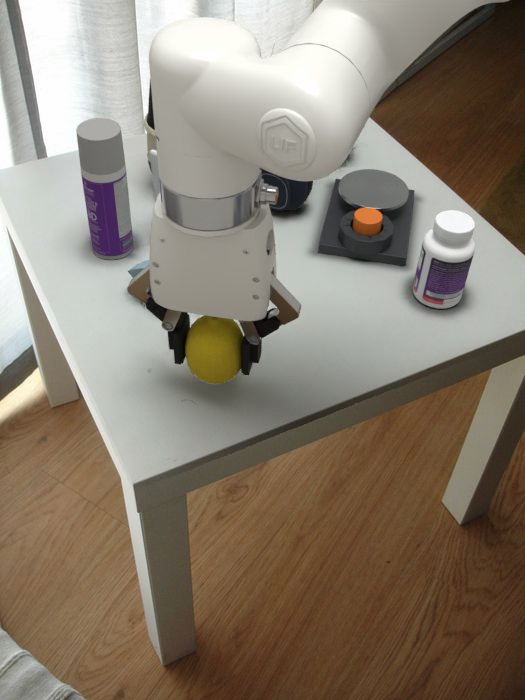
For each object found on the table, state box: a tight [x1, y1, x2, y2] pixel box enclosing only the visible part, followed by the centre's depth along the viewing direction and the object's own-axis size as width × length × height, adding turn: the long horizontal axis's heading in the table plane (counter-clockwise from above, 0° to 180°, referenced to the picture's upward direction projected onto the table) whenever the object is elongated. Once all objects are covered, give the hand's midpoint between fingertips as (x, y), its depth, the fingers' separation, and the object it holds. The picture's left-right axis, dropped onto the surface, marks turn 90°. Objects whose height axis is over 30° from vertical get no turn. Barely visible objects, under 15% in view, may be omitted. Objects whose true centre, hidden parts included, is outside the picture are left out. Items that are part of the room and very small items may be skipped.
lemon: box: [185, 315, 244, 385], centre depth 72 cm, size 6×6×8 cm
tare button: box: [353, 207, 383, 236], centre depth 89 cm, size 3×3×2 cm
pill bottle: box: [412, 209, 476, 310], centre depth 83 cm, size 5×5×10 cm
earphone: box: [260, 168, 314, 212], centre depth 95 cm, size 20×7×18 cm, turn 152°
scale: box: [317, 178, 416, 267], centre depth 94 cm, size 10×14×3 cm
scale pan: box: [339, 168, 409, 212], centre depth 94 cm, size 8×8×1 cm
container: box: [75, 117, 134, 261], centre depth 84 cm, size 5×5×15 cm
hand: (215, 357), depth 72 cm, fingers closed on lemon, 5 cm apart
